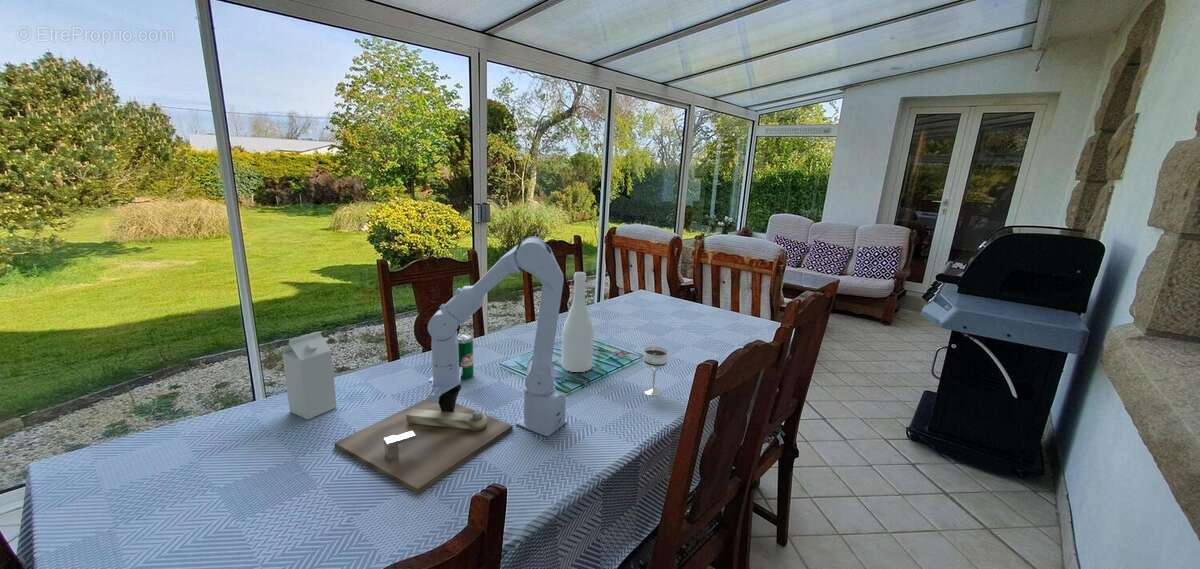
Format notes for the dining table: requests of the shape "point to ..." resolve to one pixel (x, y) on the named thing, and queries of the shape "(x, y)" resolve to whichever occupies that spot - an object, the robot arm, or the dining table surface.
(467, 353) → the soda can
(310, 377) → the milk carton
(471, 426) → the swing bar
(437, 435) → the base board
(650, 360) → the wineglass
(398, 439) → the block
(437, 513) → the dining table surface
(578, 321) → the wine bottle
